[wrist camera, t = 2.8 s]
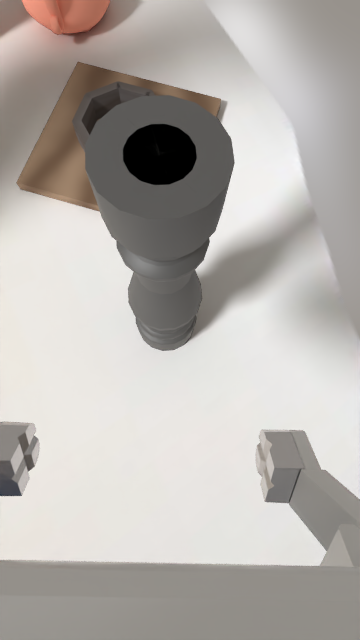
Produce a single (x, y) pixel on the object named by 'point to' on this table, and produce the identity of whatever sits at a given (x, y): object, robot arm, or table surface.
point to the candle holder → (161, 203)
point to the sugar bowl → (67, 14)
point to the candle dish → (62, 138)
